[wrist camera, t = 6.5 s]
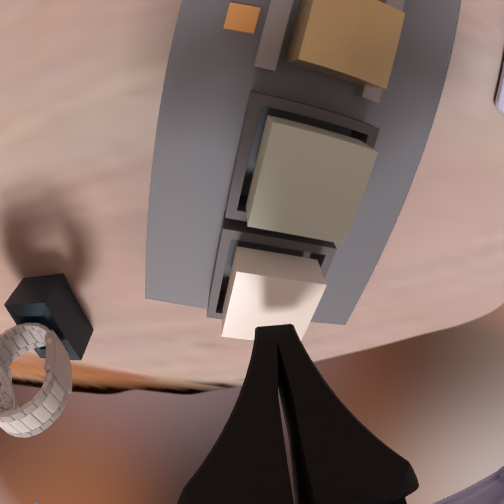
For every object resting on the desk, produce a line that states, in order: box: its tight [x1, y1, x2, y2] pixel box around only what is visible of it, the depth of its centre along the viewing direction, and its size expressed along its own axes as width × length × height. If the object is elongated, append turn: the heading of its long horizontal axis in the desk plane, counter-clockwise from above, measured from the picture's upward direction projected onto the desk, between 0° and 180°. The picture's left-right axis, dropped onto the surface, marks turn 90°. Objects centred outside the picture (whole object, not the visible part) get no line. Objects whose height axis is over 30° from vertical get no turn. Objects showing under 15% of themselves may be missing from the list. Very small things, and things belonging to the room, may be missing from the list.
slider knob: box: [284, 0, 405, 89], centre depth 8 cm, size 3×3×3 cm
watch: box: [0, 274, 93, 437], centre depth 15 cm, size 6×8×11 cm
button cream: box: [222, 246, 327, 341], centre depth 13 cm, size 4×4×2 cm
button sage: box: [246, 115, 378, 244], centre depth 11 cm, size 4×4×2 cm
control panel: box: [145, 0, 461, 325], centre depth 12 cm, size 12×23×4 cm, turn 168°
